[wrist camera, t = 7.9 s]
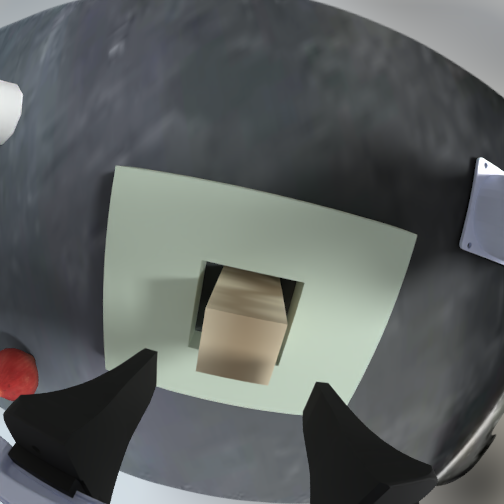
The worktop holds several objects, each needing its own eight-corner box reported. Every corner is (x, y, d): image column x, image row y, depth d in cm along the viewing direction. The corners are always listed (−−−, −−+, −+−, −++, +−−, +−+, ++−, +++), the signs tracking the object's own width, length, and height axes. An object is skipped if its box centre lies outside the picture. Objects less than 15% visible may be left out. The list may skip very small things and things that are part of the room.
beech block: (279, 277, 20) (287, 324, 14) (266, 326, 21) (267, 385, 15) (223, 265, 20) (205, 307, 13) (214, 315, 21) (195, 371, 14)
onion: (56, 384, 24) (21, 426, 17) (24, 370, 25) (-11, 405, 17) (43, 343, 23) (-1, 383, 15) (11, 330, 23) (-31, 363, 15)
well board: (401, 228, 19) (417, 234, 17) (334, 399, 23) (339, 417, 21) (131, 166, 19) (116, 165, 16) (117, 353, 23) (105, 368, 20)
